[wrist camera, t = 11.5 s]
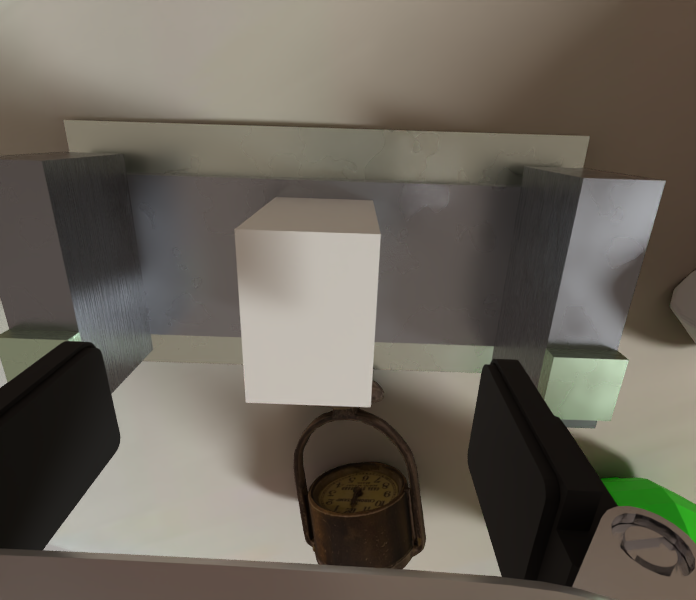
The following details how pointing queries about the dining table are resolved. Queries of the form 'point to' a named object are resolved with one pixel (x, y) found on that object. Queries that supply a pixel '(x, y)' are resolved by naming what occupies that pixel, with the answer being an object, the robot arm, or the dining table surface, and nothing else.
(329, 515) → the brown antique clock
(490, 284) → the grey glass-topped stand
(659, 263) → the dining table surface
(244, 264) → the block
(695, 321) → the rounded white slab
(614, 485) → the plastic bottle
